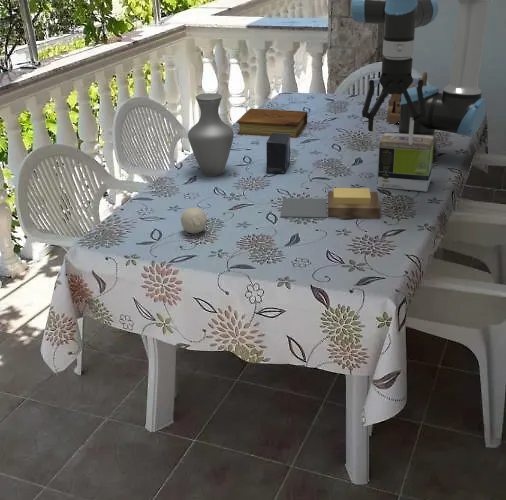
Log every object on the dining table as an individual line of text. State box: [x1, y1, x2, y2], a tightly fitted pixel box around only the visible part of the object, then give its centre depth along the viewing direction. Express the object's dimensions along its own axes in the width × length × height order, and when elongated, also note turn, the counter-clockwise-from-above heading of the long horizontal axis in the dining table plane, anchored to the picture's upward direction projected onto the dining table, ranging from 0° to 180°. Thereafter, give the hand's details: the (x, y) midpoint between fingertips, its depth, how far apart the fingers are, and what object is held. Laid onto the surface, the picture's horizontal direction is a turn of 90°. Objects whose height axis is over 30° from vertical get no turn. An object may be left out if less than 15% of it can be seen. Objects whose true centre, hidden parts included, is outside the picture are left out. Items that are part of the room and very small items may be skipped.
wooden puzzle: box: [386, 71, 428, 126], centre depth 269 cm, size 22×15×19 cm, turn 154°
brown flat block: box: [327, 190, 381, 220], centre depth 193 cm, size 14×12×3 cm
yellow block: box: [333, 187, 371, 205], centre depth 192 cm, size 10×7×2 cm
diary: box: [236, 108, 308, 139], centre depth 264 cm, size 23×19×6 cm
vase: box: [187, 92, 235, 177], centre depth 218 cm, size 14×14×25 cm
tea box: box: [377, 132, 434, 193], centre depth 207 cm, size 15×10×15 cm
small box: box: [265, 133, 291, 175], centre depth 223 cm, size 11×6×10 cm, turn 168°
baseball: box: [180, 207, 208, 234], centre depth 181 cm, size 7×7×7 cm
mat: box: [280, 197, 327, 219], centre depth 195 cm, size 12×13×1 cm
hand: (391, 142), depth 184 cm, fingers open, 9 cm apart
